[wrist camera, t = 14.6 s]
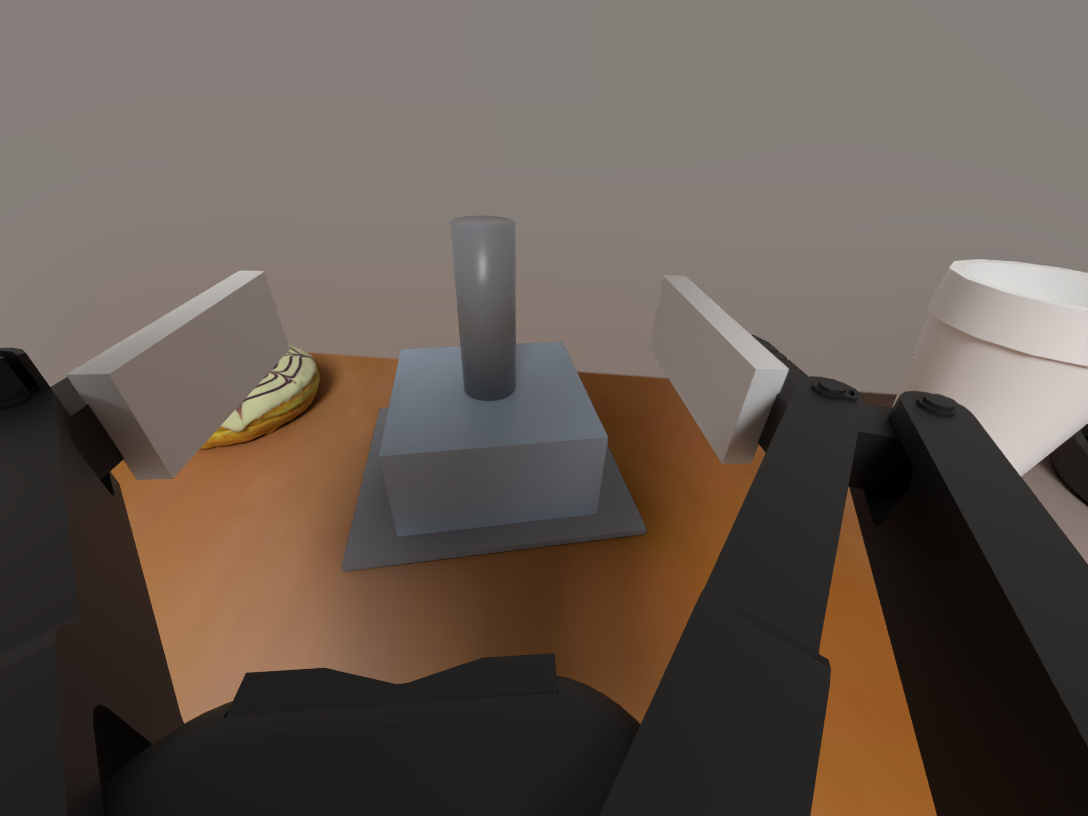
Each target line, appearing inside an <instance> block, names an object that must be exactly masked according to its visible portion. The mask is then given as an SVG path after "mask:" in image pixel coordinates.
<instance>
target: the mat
mask: <svg viewBox="0 0 1088 816" xmlns="http://www.w3.org/2000/svg"><path fill="white" fill-rule="evenodd" d="M388 409H389V408H380V410H379V414H378V418H377V422H376V426H375V430H374V435H373V439H372V443H371V447H370V451H369V455H368V459H367V464H366V468H365V472H364V476H363V480H362V484H361V488H360V492H359V497H358V501H357V505H356V509H355V513H354V517H353V521H352V526H351V530H350V534H349V538H348V542H347V546H346V550H345V555H344V559H343V563H342V569H343V571H351V570H359V569H367V568H375V567H383V566H392V565H400V564H408V563H416V562H424V561H432V560H440V559H448V558H456V557H464V556H472V555H480V554H488V553H496V552H504V551H512V550H520V549H529V548H537V547H545V546H553V545H561V544H569V543H577V542H585V541H593V540H601V539H609V538H617V537H625V536H633V535H641V534H646V531H647V528H646V526H645V524H644V522H643V520H642V518H641V516H640V513H639V511H638V509H637V507H636V505H635V503H634V501H633V498H632V496H631V494H630V492H629V490H628V488H627V486H626V483H625V481H624V479H623V477H622V475H621V473H620V471H619V468H618V466H617V464H616V462H615V460H614V458H613V456H612V453H611V451H610V449H609V447H608V445H607V448H606V455H605V462H604V468H603V475H602V482H601V488H600V495H599V502H598V508H597V514H592V515H584V516H575V517H566V518H557V519H548V520H540V521H531V522H522V523H513V524H505V525H496V526H487V527H478V528H469V529H461V530H452V531H443V532H434V533H425V534H417V535H408V536H399V537H397V532H396V528H395V524H394V520H393V516H392V511H391V507H390V503H389V499H388V495H387V490H386V486H385V482H384V478H383V474H382V469H381V465H380V461H379V457H378V456H379V451H380V447H381V442H382V437H383V433H384V428H385V423H386V418H387V414H388Z"/></svg>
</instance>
